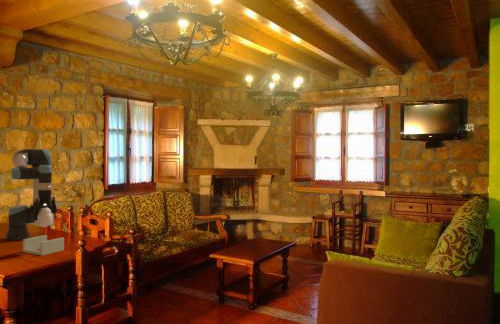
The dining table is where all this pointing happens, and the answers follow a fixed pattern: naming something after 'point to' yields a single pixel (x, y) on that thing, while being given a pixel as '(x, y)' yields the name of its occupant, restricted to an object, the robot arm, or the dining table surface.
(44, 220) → the figurine
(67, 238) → the dining table surface
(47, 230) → the dining table surface
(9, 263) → the dining table surface
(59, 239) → the beige open frame
